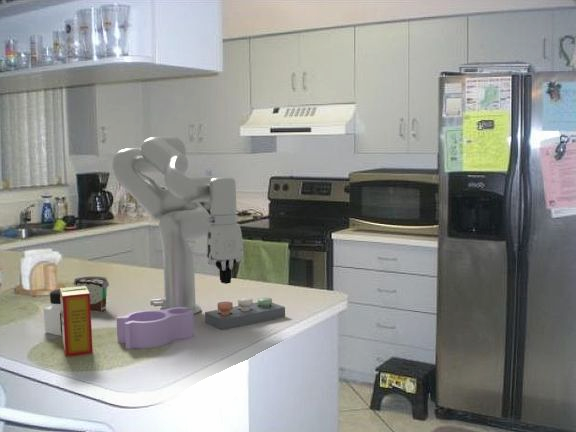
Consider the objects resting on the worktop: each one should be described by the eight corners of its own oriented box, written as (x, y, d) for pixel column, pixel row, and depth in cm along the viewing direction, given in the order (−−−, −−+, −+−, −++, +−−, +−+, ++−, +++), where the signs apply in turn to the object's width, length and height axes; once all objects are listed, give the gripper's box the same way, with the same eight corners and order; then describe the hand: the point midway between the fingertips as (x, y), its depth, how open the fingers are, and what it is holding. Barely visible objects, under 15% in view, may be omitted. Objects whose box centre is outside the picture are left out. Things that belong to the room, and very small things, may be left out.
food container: (118, 308, 212) (116, 277, 211) (105, 313, 207) (104, 281, 205) (88, 304, 217) (86, 274, 216) (75, 309, 212) (73, 278, 211)
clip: (181, 327, 191) (181, 304, 190) (200, 338, 180) (200, 314, 180) (114, 340, 180) (113, 315, 179) (129, 352, 170) (128, 326, 169)
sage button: (263, 316, 199) (262, 301, 198) (255, 313, 203) (254, 299, 202) (275, 314, 202) (274, 299, 201) (266, 311, 205) (266, 296, 205)
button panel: (222, 329, 188) (222, 319, 187) (205, 322, 196) (204, 312, 195) (285, 316, 200) (285, 307, 200) (266, 309, 208) (266, 300, 208)
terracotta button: (222, 321, 191) (222, 306, 190) (215, 318, 194) (214, 303, 194) (235, 318, 193) (235, 303, 193) (228, 315, 197) (227, 300, 196)
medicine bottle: (61, 336, 183) (59, 294, 181) (44, 332, 187) (42, 291, 185) (81, 330, 189) (79, 289, 187) (65, 326, 193) (62, 286, 191)
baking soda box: (92, 353, 169) (89, 291, 167) (65, 356, 166) (62, 294, 164) (88, 342, 177) (85, 284, 175) (62, 345, 175) (59, 286, 173)
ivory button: (243, 317, 195) (242, 302, 194) (235, 314, 198) (235, 299, 198) (255, 314, 197) (255, 300, 197) (247, 311, 201) (247, 297, 200)
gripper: (207, 223, 183) (209, 288, 185) (252, 219, 191) (254, 281, 194) (194, 221, 189) (196, 284, 191) (238, 216, 198) (240, 277, 200)
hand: (225, 282), depth 192 cm, fingers closed
